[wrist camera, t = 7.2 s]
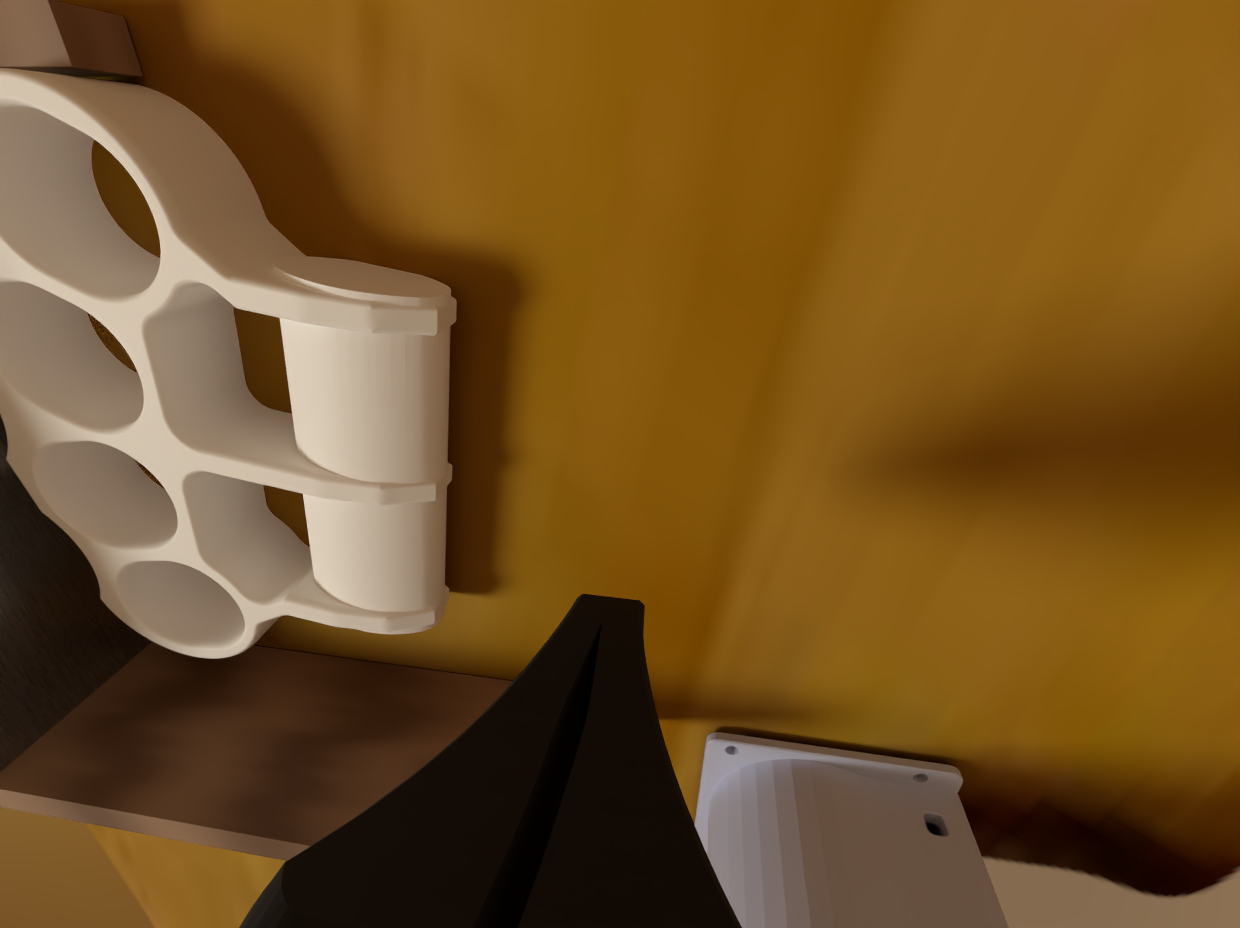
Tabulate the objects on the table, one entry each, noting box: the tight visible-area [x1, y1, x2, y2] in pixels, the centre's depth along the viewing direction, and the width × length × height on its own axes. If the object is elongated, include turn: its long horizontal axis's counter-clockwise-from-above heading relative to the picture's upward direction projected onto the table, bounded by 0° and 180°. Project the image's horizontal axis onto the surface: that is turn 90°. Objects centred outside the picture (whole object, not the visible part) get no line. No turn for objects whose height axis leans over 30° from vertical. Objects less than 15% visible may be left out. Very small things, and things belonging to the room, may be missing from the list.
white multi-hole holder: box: [0, 68, 457, 659], centre depth 18 cm, size 3×18×15 cm
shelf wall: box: [0, 0, 513, 861], centre depth 16 cm, size 23×23×7 cm
